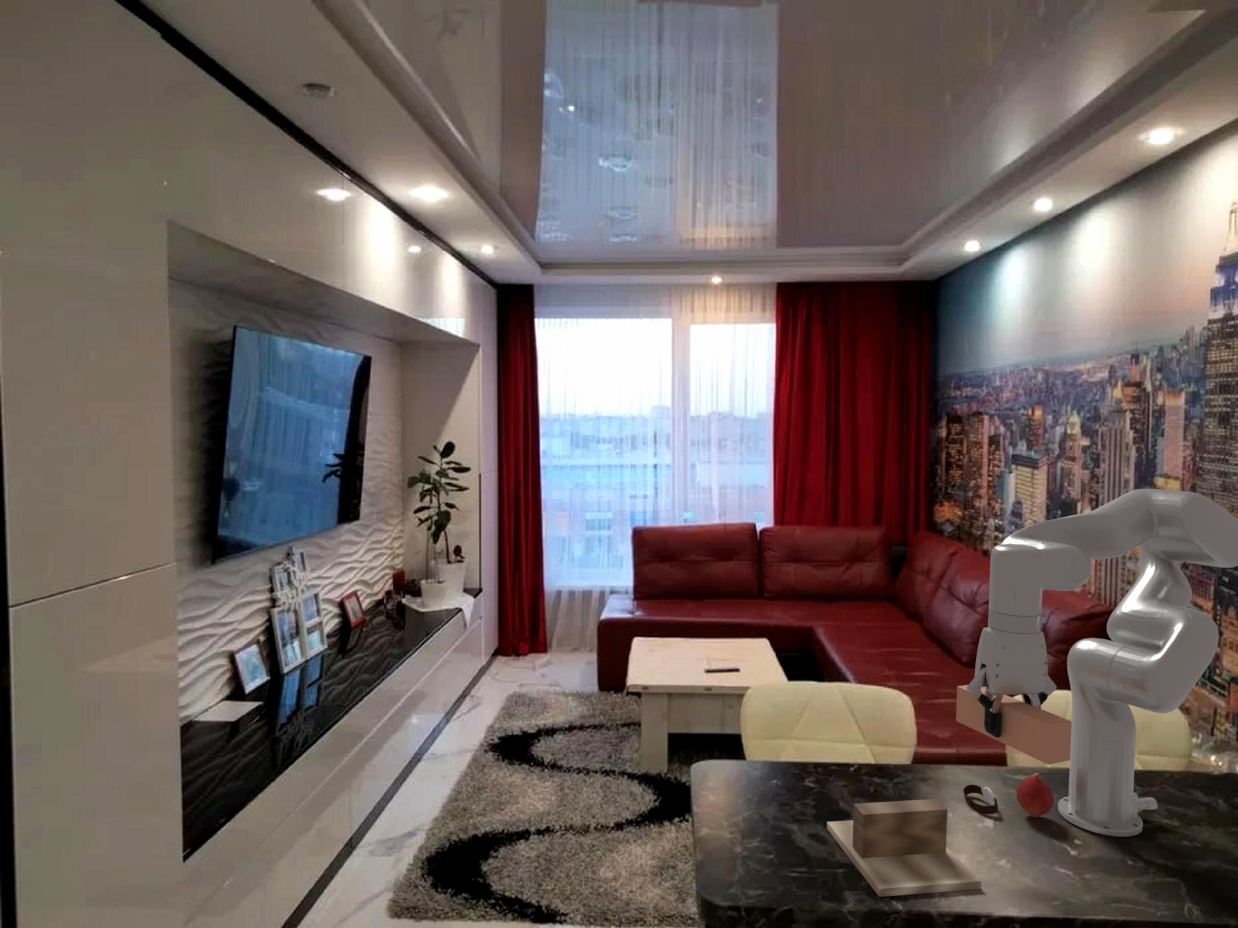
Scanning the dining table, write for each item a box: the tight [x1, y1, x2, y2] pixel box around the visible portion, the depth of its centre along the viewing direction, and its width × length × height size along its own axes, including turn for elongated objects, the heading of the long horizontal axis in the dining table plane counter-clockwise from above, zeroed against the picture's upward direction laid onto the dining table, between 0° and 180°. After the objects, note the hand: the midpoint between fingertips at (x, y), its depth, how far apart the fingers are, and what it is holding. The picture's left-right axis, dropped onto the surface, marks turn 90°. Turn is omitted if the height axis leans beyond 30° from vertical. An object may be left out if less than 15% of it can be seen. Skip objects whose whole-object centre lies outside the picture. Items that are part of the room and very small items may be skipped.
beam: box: [955, 684, 1072, 765], centre depth 124 cm, size 4×18×6 cm, turn 21°
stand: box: [826, 798, 982, 898], centre depth 123 cm, size 16×19×8 cm
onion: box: [1015, 772, 1055, 819], centre depth 136 cm, size 6×6×8 cm
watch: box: [962, 784, 999, 815], centre depth 140 cm, size 8×5×4 cm, turn 8°
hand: (1010, 732), depth 124 cm, fingers closed on beam, 5 cm apart
